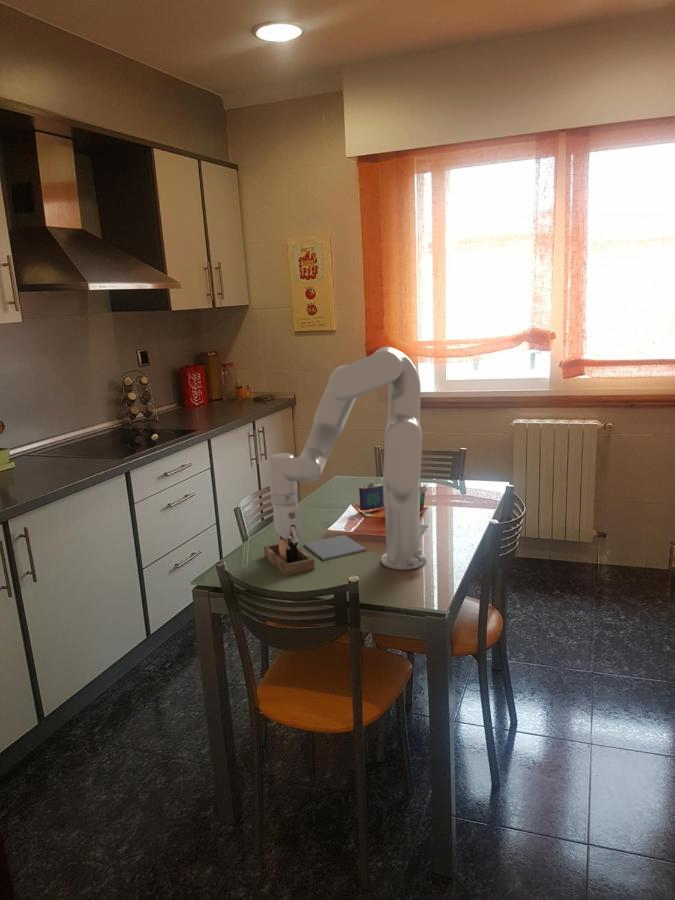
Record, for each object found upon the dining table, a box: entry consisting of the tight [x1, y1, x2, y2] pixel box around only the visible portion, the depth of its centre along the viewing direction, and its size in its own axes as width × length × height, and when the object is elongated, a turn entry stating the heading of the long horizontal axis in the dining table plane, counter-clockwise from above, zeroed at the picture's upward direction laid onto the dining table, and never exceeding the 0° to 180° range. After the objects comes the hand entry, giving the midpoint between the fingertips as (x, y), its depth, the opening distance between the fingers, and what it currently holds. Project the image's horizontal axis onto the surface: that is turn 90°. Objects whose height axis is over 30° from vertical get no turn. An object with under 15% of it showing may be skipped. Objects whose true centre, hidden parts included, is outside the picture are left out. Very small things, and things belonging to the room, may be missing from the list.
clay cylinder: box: [277, 536, 299, 564], centre depth 188 cm, size 5×5×7 cm
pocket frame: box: [263, 543, 315, 577], centre depth 188 cm, size 17×9×3 cm, turn 26°
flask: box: [358, 480, 385, 510], centre depth 230 cm, size 9×3×11 cm, turn 114°
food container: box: [419, 484, 428, 512], centre depth 224 cm, size 12×6×10 cm, turn 76°
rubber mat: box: [303, 534, 367, 561], centre depth 198 cm, size 14×14×1 cm
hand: (288, 557), depth 188 cm, fingers closed on clay cylinder, 5 cm apart
